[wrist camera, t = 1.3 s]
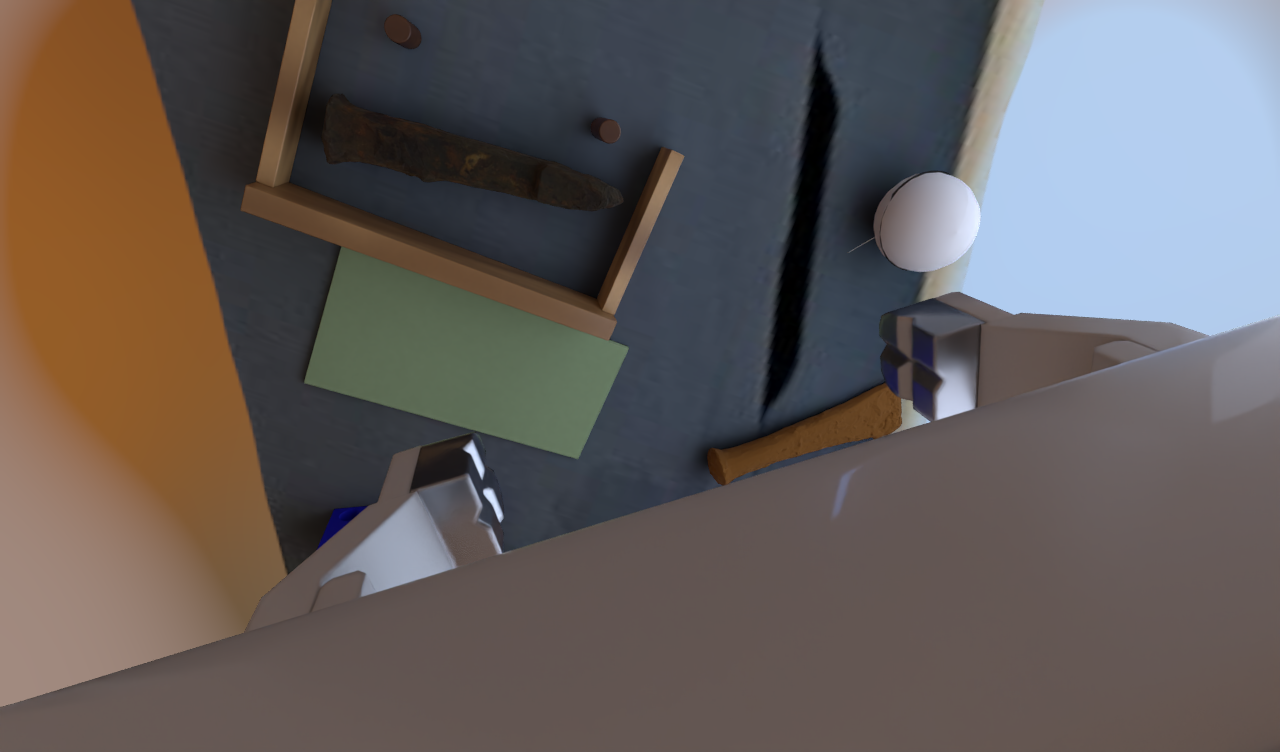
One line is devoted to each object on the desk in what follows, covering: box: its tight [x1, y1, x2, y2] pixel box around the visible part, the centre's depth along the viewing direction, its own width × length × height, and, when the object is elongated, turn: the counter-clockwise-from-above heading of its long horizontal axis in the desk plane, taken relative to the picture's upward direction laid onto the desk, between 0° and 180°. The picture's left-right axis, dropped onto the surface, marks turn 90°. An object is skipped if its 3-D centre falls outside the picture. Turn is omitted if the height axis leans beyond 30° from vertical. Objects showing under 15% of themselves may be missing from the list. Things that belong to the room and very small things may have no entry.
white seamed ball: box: [848, 171, 981, 272], centre depth 45 cm, size 10×7×7 cm
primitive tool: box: [707, 383, 902, 486], centre depth 54 cm, size 19×6×4 cm, turn 104°
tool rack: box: [241, 0, 684, 341], centre depth 39 cm, size 14×24×4 cm, turn 65°
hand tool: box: [321, 94, 624, 211], centre depth 39 cm, size 19×4×5 cm, turn 72°
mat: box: [304, 246, 629, 459], centre depth 47 cm, size 11×22×1 cm, turn 65°
